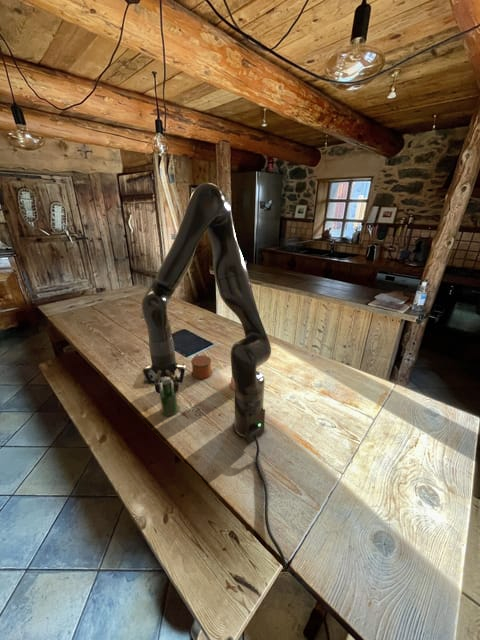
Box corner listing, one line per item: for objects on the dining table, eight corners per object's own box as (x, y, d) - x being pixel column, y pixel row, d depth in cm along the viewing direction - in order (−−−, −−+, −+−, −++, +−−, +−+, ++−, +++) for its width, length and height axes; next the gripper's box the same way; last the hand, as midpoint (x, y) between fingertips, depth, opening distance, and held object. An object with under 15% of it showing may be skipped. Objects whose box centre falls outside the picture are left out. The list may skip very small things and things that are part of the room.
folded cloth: (161, 382, 111) (161, 379, 110) (144, 382, 110) (144, 380, 110) (165, 368, 120) (165, 366, 119) (150, 369, 119) (149, 366, 119)
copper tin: (215, 374, 115) (214, 362, 113) (197, 381, 111) (196, 368, 108) (206, 365, 122) (205, 353, 119) (189, 371, 118) (188, 359, 115)
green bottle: (180, 411, 95) (177, 383, 90) (165, 418, 92) (161, 389, 87) (174, 402, 99) (171, 375, 94) (160, 408, 96) (155, 380, 91)
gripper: (136, 356, 82) (143, 399, 89) (183, 354, 83) (187, 398, 89) (142, 344, 88) (149, 385, 95) (186, 343, 89) (189, 384, 96)
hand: (167, 391), depth 92 cm, fingers open, 5 cm apart
